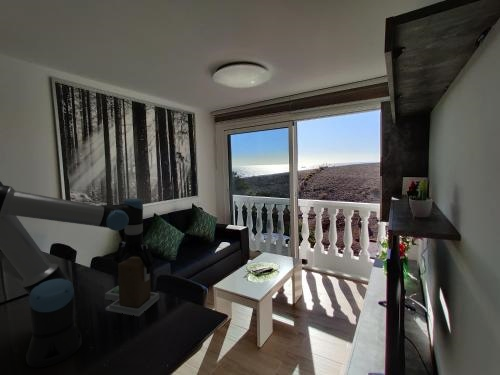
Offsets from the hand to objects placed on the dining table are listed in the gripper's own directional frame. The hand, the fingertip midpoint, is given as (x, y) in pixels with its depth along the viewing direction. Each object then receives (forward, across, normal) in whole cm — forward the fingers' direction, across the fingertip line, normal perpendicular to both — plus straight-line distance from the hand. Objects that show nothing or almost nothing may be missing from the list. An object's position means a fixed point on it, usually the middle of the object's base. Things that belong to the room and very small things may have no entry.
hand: (133, 278), depth 115 cm
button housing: (+13, +13, -5) cm, 19 cm away
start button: (+12, +13, -5) cm, 18 cm away
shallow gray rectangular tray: (+13, +1, -1) cm, 13 cm away
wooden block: (+12, 0, -1) cm, 12 cm away
